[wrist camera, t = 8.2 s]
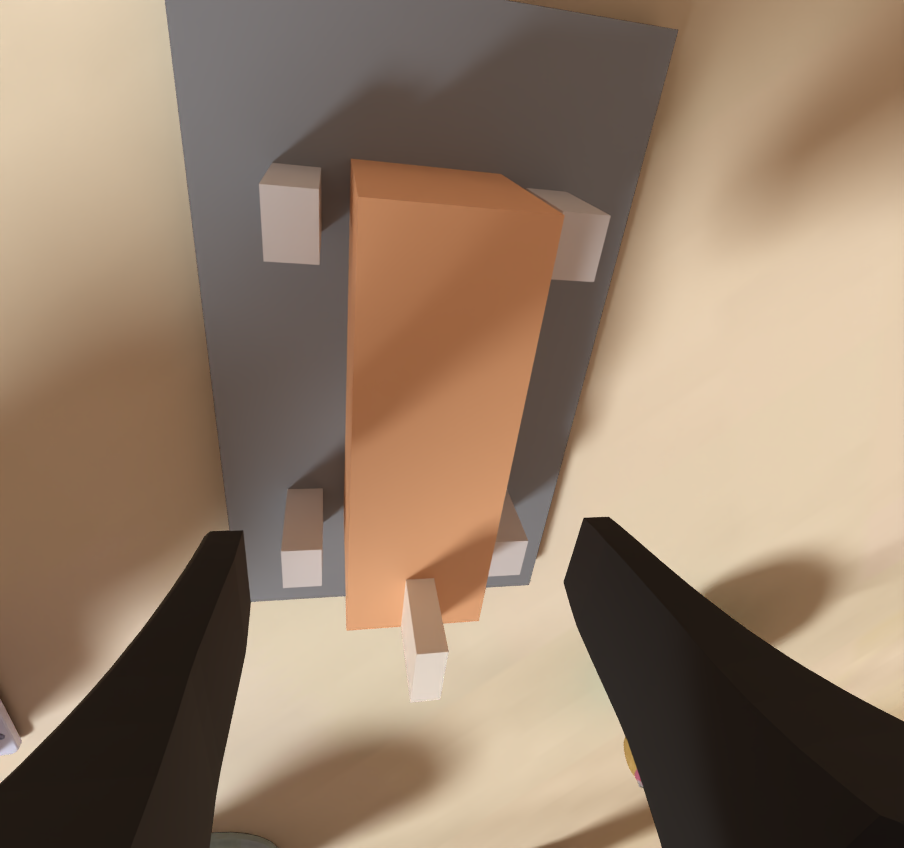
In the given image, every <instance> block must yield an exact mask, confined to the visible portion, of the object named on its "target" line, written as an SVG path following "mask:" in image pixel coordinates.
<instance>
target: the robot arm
mask: <svg viewBox="0 0 904 848" xmlns="http://www.w3.org/2000/svg"><path fill="white" fill-rule="evenodd" d="M564 585H565V589H566V592H567V596H568V600H569V603H570V606H571V610H572V613H573V616H574V619H575V622H576V625H577V628H578V630H579V632H580V635H581V637H582V639H583V641H584V644H585V646H586V648H587V651H588V653H589V655H590V657H591V660H592V662H593V664H594V666H595V668H596V671H597V673H598V675H599V677H600V679H601V682H602V684H603V686H604V688H605V691H606V693H607V695H608V697H609V699H610V702H611V704H612V706H613V708H614V710H615V713H616V715H617V717H618V719H619V722H620V724H621V727H622V729H623V732H624V734H625V736H626V739H627V741H628V744H629V747H630V750H631V753H632V756H633V759H634V762H635V765H636V768H637V770H638V773H639V776H640V779H641V782H642V785H643V788H644V791H645V794H646V798H647V801H648V804H649V807H650V810H651V813H652V817H653V820H654V823H655V826H656V829H657V832H658V836H659V839H660V842H661V846H662V848H904V721H902V720H900V719H898V718H896V717H894V716H892V715H890V714H888V713H886V712H884V711H882V710H880V709H878V708H876V707H875V706H873V705H871V704H869V703H867V702H865V701H863V700H861V699H860V698H858V697H856V696H854V695H852V694H850V693H849V692H847V691H845V690H843V689H841V688H840V687H838V686H836V685H834V684H833V683H831V682H829V681H828V680H826V679H824V678H823V677H821V676H819V675H817V674H816V673H814V672H812V671H811V670H809V669H807V668H806V667H804V666H802V665H801V664H799V663H798V662H796V661H794V660H793V659H791V658H790V657H788V656H786V655H785V654H783V653H782V652H780V651H779V650H777V649H776V648H774V647H773V646H771V645H770V644H768V643H767V642H765V641H764V640H762V639H761V638H759V637H758V636H756V635H755V634H753V633H752V632H751V631H749V630H748V629H746V628H745V627H744V626H742V625H741V624H739V623H738V622H737V621H735V620H734V619H733V618H731V617H730V616H729V615H727V614H726V613H725V612H723V611H722V610H721V609H719V608H718V607H717V606H715V605H714V604H713V603H711V602H710V601H709V600H708V599H706V598H705V597H704V596H703V595H701V594H700V593H699V592H698V591H696V590H695V589H694V588H693V587H691V586H690V585H689V584H688V583H686V582H685V581H684V580H683V579H682V578H680V577H679V576H678V575H677V574H676V573H674V572H673V571H672V570H671V569H670V568H669V567H667V566H666V565H665V564H664V563H663V562H661V561H660V560H659V559H658V558H657V557H656V556H655V555H653V554H652V553H651V552H650V551H649V550H648V549H646V548H645V547H644V546H643V545H642V544H641V543H639V542H638V541H637V540H636V539H635V538H634V537H633V536H631V535H630V534H629V533H628V532H627V531H625V530H624V529H623V528H622V527H621V526H620V525H618V524H617V523H616V522H615V521H613V520H612V519H611V518H610V517H592V518H584V519H583V522H582V525H581V528H580V531H579V535H578V538H577V541H576V544H575V547H574V551H573V554H572V557H571V560H570V563H569V567H568V570H567V573H566V576H565V579H564ZM250 605H251V599H250V589H249V580H248V570H247V561H246V551H245V541H244V532H243V530H238V531H211V532H209V533H208V534H207V535H205V536H204V538H203V540H202V542H201V543H200V545H199V547H198V549H197V550H196V552H195V553H194V555H193V557H192V558H191V560H190V561H189V563H188V565H187V566H186V568H185V569H184V571H183V572H182V574H181V575H180V577H179V578H178V580H177V581H176V583H175V584H174V586H173V587H172V589H171V590H170V591H169V593H168V594H167V596H166V597H165V598H164V600H163V601H162V603H161V604H160V605H159V607H158V608H157V609H156V611H155V612H154V614H153V615H152V616H151V618H150V619H149V621H148V622H147V623H146V624H145V626H144V627H143V628H142V630H141V631H140V632H139V633H138V635H137V636H136V637H135V638H134V640H133V641H132V642H131V643H130V645H129V646H128V647H127V648H126V650H125V651H124V652H123V653H122V655H121V656H120V657H119V658H118V660H117V661H116V662H115V663H114V665H113V666H112V667H111V668H110V669H109V671H108V672H107V673H106V674H105V675H104V676H103V678H102V679H101V680H100V681H99V682H98V683H97V684H96V686H95V687H94V688H93V689H92V690H91V691H90V692H89V693H88V695H87V696H86V697H85V698H84V699H83V700H82V701H81V702H80V703H79V704H78V706H77V707H76V708H75V709H74V710H73V711H72V712H71V713H70V714H69V715H68V716H67V717H66V718H65V720H64V721H63V722H62V723H61V724H60V725H59V726H58V727H57V728H56V729H55V730H54V731H53V732H52V733H51V734H50V735H49V736H48V737H47V738H46V739H45V740H44V741H43V742H42V743H41V744H40V745H39V746H38V747H37V748H36V749H35V750H34V751H33V752H32V753H31V754H30V755H29V756H28V757H27V758H26V759H25V760H24V761H23V762H22V763H21V764H20V765H19V766H18V767H17V768H16V769H15V770H14V771H13V772H12V773H11V774H10V775H9V776H8V777H7V778H5V779H4V780H3V781H2V782H1V783H0V848H210V841H211V833H212V825H213V817H214V808H215V800H216V794H217V788H218V782H219V777H220V771H221V766H222V761H223V757H224V752H225V747H226V743H227V738H228V733H229V729H230V724H231V719H232V715H233V710H234V705H235V701H236V696H237V691H238V687H239V682H240V677H241V673H242V668H243V663H244V658H245V653H246V645H247V636H248V626H249V616H250ZM21 743H22V740H21V738H20V736H19V734H18V732H17V730H16V728H15V726H14V725H13V723H12V721H11V719H10V717H9V715H8V713H7V711H6V709H5V707H4V705H3V703H2V701H1V699H0V755H9V754H13V753H15V752H17V751H18V749H19V747H20V745H21Z"/></svg>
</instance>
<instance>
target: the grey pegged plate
mask: <svg viewBox="0 0 904 848" xmlns="http://www.w3.org/2000/svg"><path fill="white" fill-rule="evenodd" d="M165 6H166V14H167V22H168V30H169V38H170V46H171V55H172V63H173V71H174V79H175V87H176V96H177V104H178V112H179V120H180V128H181V137H182V145H183V153H184V161H185V169H186V178H187V186H188V194H189V202H190V210H191V218H192V227H193V235H194V243H195V251H196V259H197V268H198V276H199V284H200V292H201V300H202V309H203V317H204V325H205V333H206V341H207V350H208V358H209V366H210V374H211V382H212V391H213V399H214V407H215V415H216V423H217V431H218V440H219V448H220V456H221V464H222V472H223V481H224V489H225V497H226V505H227V513H228V522H229V530H230V531H238V530H243V532H244V541H245V551H246V561H247V570H248V580H249V589H250V599H251V602H256V601H272V600H289V599H305V598H322V597H338V596H346V589H345V549H344V474H345V424H346V373H347V322H348V271H349V221H350V170H351V159H360V160H370V161H380V162H389V163H399V164H409V165H418V166H428V167H438V168H448V169H457V170H467V171H477V172H487V173H496V174H502V175H503V176H505V177H506V178H508V179H510V180H511V181H513V182H514V183H516V184H517V185H519V186H520V187H522V188H523V189H525V190H527V191H528V192H530V193H531V194H533V195H534V196H536V197H537V198H539V199H541V200H542V201H544V202H545V203H547V204H548V205H550V206H551V207H553V208H554V209H556V210H558V211H559V212H561V213H562V214H564V215H565V217H564V221H563V226H562V231H561V236H560V240H559V245H558V250H557V254H556V259H555V264H554V269H553V273H552V278H551V283H550V287H549V292H548V297H547V301H546V306H545V311H544V316H543V320H542V325H541V330H540V334H539V339H538V344H537V349H536V353H535V358H534V363H533V367H532V372H531V377H530V382H529V386H528V391H527V396H526V400H525V405H524V410H523V415H522V419H521V424H520V429H519V433H518V438H517V443H516V447H515V452H514V457H513V462H512V466H511V471H510V476H509V480H508V485H507V490H506V495H505V499H504V504H503V509H502V513H501V518H500V523H499V528H498V532H497V537H496V542H495V546H494V551H493V556H492V560H491V565H490V570H489V575H488V579H487V584H486V588H487V587H503V586H520V585H529V583H530V579H531V575H532V571H533V568H534V564H535V560H536V557H537V553H538V549H539V545H540V542H541V538H542V534H543V531H544V527H545V523H546V519H547V516H548V512H549V508H550V505H551V501H552V497H553V493H554V490H555V486H556V482H557V479H558V475H559V471H560V467H561V464H562V460H563V456H564V453H565V449H566V445H567V441H568V438H569V434H570V430H571V427H572V423H573V419H574V415H575V412H576V408H577V404H578V401H579V397H580V393H581V390H582V386H583V382H584V378H585V375H586V371H587V367H588V364H589V360H590V356H591V352H592V349H593V345H594V341H595V338H596V334H597V330H598V326H599V323H600V319H601V315H602V312H603V308H604V304H605V300H606V297H607V293H608V289H609V286H610V282H611V278H612V274H613V271H614V267H615V263H616V260H617V256H618V252H619V248H620V245H621V241H622V237H623V234H624V230H625V226H626V222H627V219H628V215H629V211H630V208H631V204H632V200H633V196H634V193H635V189H636V185H637V182H638V178H639V174H640V171H641V167H642V163H643V159H644V156H645V152H646V148H647V145H648V141H649V137H650V133H651V130H652V126H653V122H654V119H655V115H656V111H657V107H658V104H659V100H660V96H661V93H662V89H663V85H664V81H665V78H666V74H667V70H668V67H669V63H670V59H671V55H672V52H673V48H674V44H675V41H676V37H677V33H678V30H676V29H670V28H665V27H659V26H653V25H647V24H641V23H636V22H630V21H624V20H618V19H612V18H607V17H601V16H595V15H589V14H583V13H578V12H572V11H566V10H560V9H554V8H549V7H543V6H537V5H531V4H525V3H520V2H514V1H508V0H165Z"/></svg>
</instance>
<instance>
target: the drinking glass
mask: <svg viewBox="0 0 904 848" xmlns="http://www.w3.org/2000/svg"><path fill="white" fill-rule="evenodd" d="M210 848H277V847H276V846H275V845H274V844H273V843H272V842H270V841H269V840H266V839H264V838H262V837H259V836H255V835H250V834H243V833H232V832H226V833H211V841H210Z"/></svg>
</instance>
